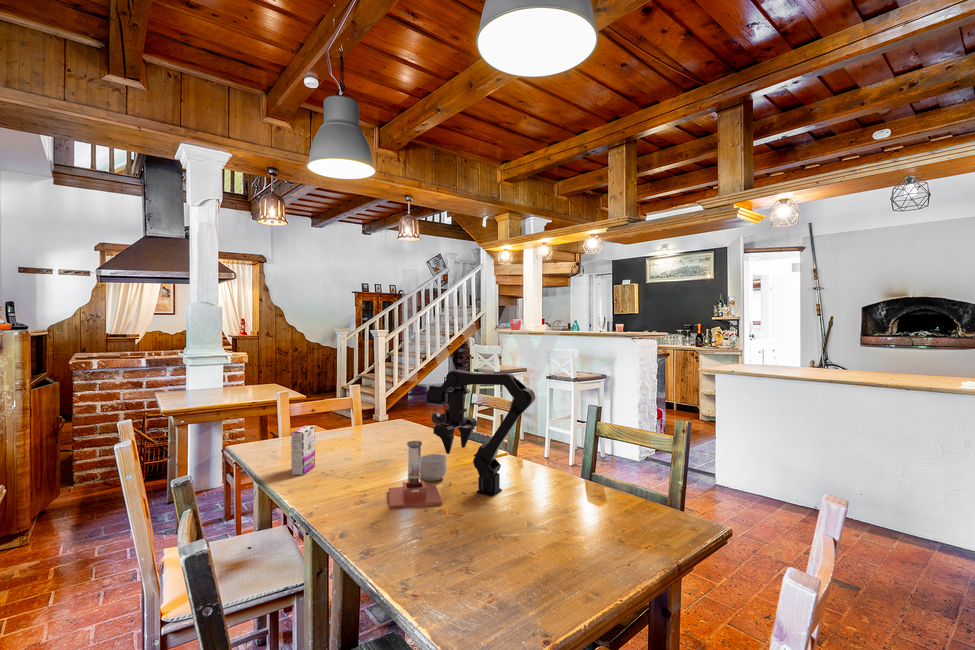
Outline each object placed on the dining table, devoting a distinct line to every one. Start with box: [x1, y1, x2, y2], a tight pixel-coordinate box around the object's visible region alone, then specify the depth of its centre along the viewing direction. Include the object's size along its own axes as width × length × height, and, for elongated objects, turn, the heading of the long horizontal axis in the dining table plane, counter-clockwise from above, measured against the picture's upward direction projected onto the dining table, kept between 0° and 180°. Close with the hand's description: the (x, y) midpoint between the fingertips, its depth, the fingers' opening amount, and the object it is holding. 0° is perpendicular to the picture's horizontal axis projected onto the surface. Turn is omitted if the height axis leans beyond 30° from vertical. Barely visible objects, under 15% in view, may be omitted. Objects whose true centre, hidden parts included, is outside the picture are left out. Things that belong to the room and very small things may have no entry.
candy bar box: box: [290, 425, 316, 476], centre depth 176 cm, size 11×5×16 cm, turn 179°
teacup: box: [421, 453, 447, 482], centre depth 169 cm, size 14×11×8 cm
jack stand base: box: [388, 480, 443, 511], centre depth 148 cm, size 16×16×4 cm
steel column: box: [406, 440, 423, 484], centre depth 149 cm, size 5×5×13 cm
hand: (455, 450), depth 158 cm, fingers open, 9 cm apart
